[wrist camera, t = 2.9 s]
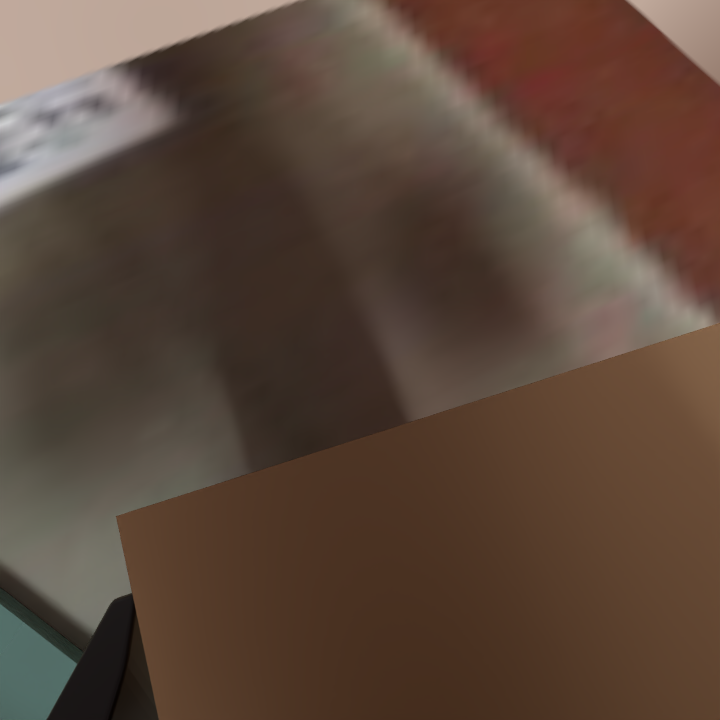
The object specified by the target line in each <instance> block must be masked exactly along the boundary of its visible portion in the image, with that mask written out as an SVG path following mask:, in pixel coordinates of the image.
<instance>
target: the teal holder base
mask: <svg viewBox="0 0 720 720" xmlns="http://www.w3.org/2000/svg"><path fill="white" fill-rule="evenodd" d="M83 653H84V652H82V651H81V650H80V649H79V648H77V647H76V646H75V645H73V644H72V643H71V642H70V641H68V640H67V639H66V638H64V637H63V636H62V635H61V634H59V633H58V632H57V631H55V630H54V629H53V628H52V627H50V626H49V625H48V624H46V623H45V622H44V621H43V620H41V619H40V618H39V617H37V616H36V615H35V614H34V613H32V612H31V611H30V610H28V609H27V608H26V607H25V606H23V605H22V604H21V603H19V602H18V601H17V600H16V599H14V598H13V597H12V596H10V595H9V594H8V593H7V592H5V591H4V590H3V589H1V588H0V720H46V719H47V718H48V716H49V714H50V712H51V710H52V709H53V707H54V705H55V703H56V701H57V700H58V698H59V696H60V694H61V692H62V690H63V689H64V687H65V685H66V683H67V681H68V680H69V678H70V676H71V674H72V672H73V671H74V669H75V667H76V665H77V663H78V662H79V660H80V658H81V656H82V654H83Z"/></svg>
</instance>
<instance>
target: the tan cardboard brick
mask: <svg viewBox="0 0 720 720" xmlns="http://www.w3.org/2000/svg"><path fill="white" fill-rule="evenodd" d="M116 518H117V523H118V527H119V532H120V537H121V542H122V547H123V551H124V556H125V561H126V566H127V570H128V575H129V580H130V585H131V589H132V594H133V599H134V604H135V608H136V613H137V618H138V623H139V628H140V632H141V637H142V642H143V647H144V651H145V656H146V661H147V666H148V670H149V675H150V680H151V685H152V690H153V694H154V699H155V704H156V709H157V713H158V718H159V720H720V323H718V324H715V325H712V326H709V327H706V328H703V329H700V330H697V331H693V332H690V333H687V334H684V335H681V336H678V337H675V338H672V339H668V340H665V341H662V342H659V343H656V344H653V345H650V346H647V347H643V348H640V349H637V350H634V351H631V352H628V353H625V354H622V355H618V356H615V357H612V358H609V359H606V360H603V361H600V362H597V363H593V364H590V365H587V366H584V367H581V368H578V369H575V370H572V371H568V372H565V373H562V374H559V375H556V376H553V377H550V378H547V379H543V380H540V381H537V382H534V383H531V384H528V385H525V386H522V387H518V388H515V389H512V390H509V391H506V392H503V393H500V394H497V395H493V396H490V397H487V398H484V399H481V400H478V401H475V402H472V403H468V404H465V405H462V406H459V407H456V408H453V409H450V410H447V411H443V412H440V413H437V414H434V415H431V416H428V417H425V418H422V419H418V420H415V421H412V422H409V423H406V424H403V425H400V426H397V427H393V428H390V429H387V430H384V431H381V432H378V433H375V434H372V435H368V436H365V437H362V438H359V439H356V440H353V441H350V442H347V443H343V444H340V445H337V446H334V447H331V448H328V449H325V450H322V451H318V452H315V453H312V454H309V455H306V456H303V457H300V458H297V459H293V460H290V461H287V462H284V463H281V464H278V465H275V466H272V467H268V468H265V469H262V470H259V471H256V472H253V473H250V474H247V475H243V476H240V477H237V478H234V479H231V480H228V481H225V482H222V483H218V484H215V485H212V486H209V487H206V488H203V489H200V490H197V491H193V492H190V493H187V494H184V495H181V496H178V497H175V498H172V499H168V500H165V501H162V502H159V503H156V504H153V505H150V506H147V507H143V508H140V509H137V510H134V511H131V512H128V513H125V514H122V515H118V516H116Z"/></svg>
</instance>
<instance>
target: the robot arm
mask: <svg viewBox="0 0 720 720" xmlns="http://www.w3.org/2000/svg"><path fill="white" fill-rule="evenodd" d="M46 720H159V718H158V713H157V709H156V704H155V699H154V694H153V690H152V685H151V680H150V675H149V670H148V666H147V661H146V656H145V651H144V647H143V642H142V637H141V632H140V628H139V623H138V618H137V613H136V608H135V604H134V599H133V594H132V593H130V594H128V595H125V596H122V597H119V598H117V599H115V600H114V601H113V602H112V603H111V604H110V606H109V607H108V609H107V611H106V613H105V615H104V616H103V618H102V620H101V622H100V624H99V625H98V627H97V629H96V631H95V633H94V634H93V636H92V638H91V640H90V642H89V644H88V645H87V647H86V649H85V651H84V653H83V654H82V656H81V658H80V660H79V662H78V663H77V665H76V667H75V669H74V671H73V672H72V674H71V676H70V678H69V680H68V681H67V683H66V685H65V687H64V689H63V690H62V692H61V694H60V696H59V698H58V700H57V701H56V703H55V705H54V707H53V709H52V710H51V712H50V714H49V716H48V718H47V719H46Z"/></svg>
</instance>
